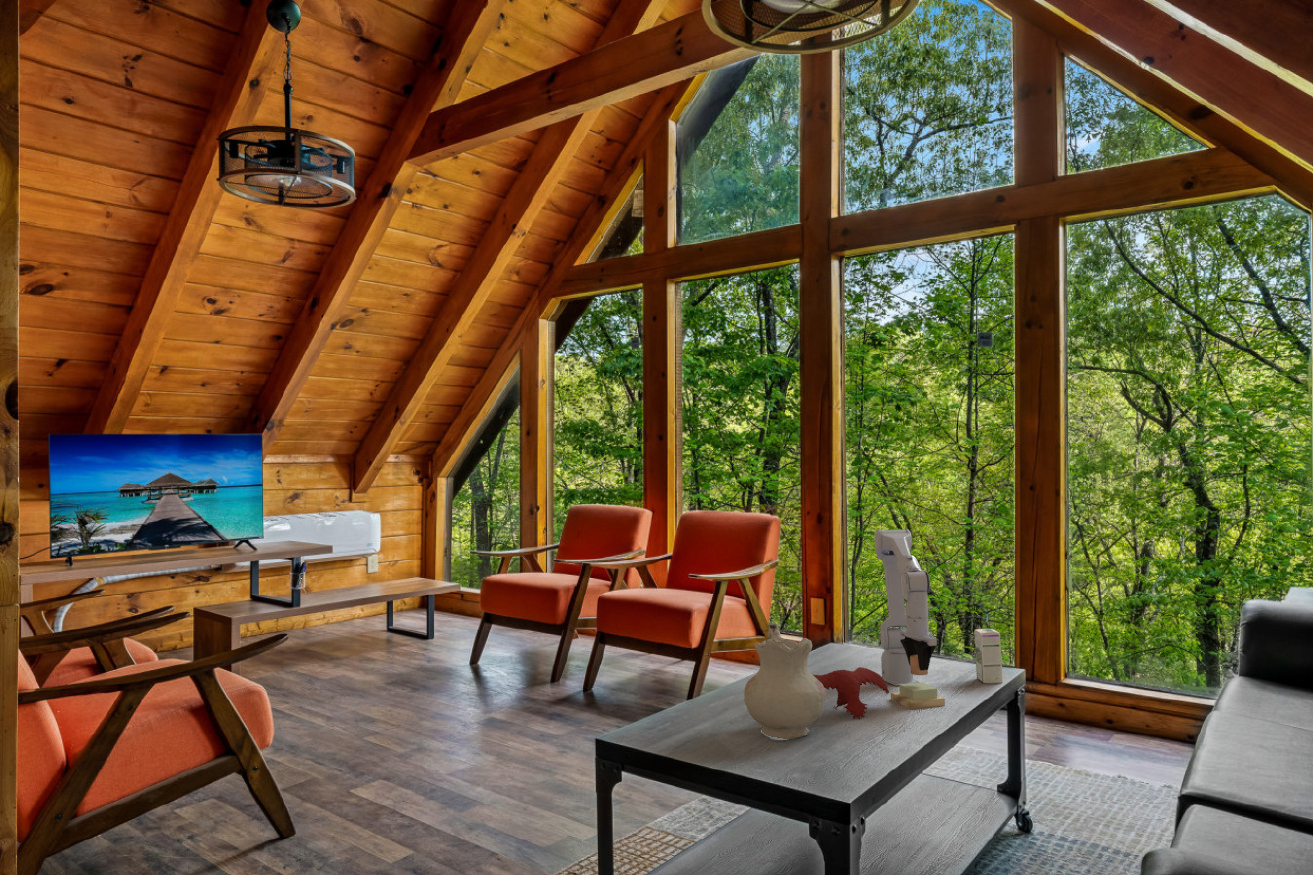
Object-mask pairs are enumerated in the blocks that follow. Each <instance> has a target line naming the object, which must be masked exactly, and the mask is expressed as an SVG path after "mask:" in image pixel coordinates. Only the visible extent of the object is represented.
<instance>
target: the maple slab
mask: <svg viewBox="0 0 1313 875" xmlns="http://www.w3.org/2000/svg"><path fill="white" fill-rule="evenodd" d="M890 700H891V701H893V702H895V703H897V704H899V705H901V706H903V707H905V708H907V709H909V710H916V709H926V708H928V709H929V708H935V707H943V706H946V701H945V700H946V698H945V697H942V696H940V695H938V694H937V698H934V699H924V700H914V701H913V700H911V699H909V698H907V697H905V696H903V695H901V694H900V691H893V692H892V691H891V692H890Z"/></svg>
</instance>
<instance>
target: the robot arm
mask: <svg viewBox="0 0 1313 875" xmlns="http://www.w3.org/2000/svg"><path fill="white" fill-rule="evenodd" d="M912 546H913V536H912V533H911V531H910V530H909V529H908V528H905V529H882V530H880V529H877V530H876V531H875V532H874V547H875V556H876V559H878V560H880V561H881V562H882V564H883V565H882V566H883V568H884V570H883V571H884V580H885V589H886V597H887V598H886V599H887V607H888V608H887V609H888V617H887V618H885V619H884V620H883V621H882V622H881V623H880V627H879V628H880V634H879V636H880V640H879V641H880V644H881V648H882V649H883V652H882V654H881V656H880V658H881V659H880V660H881V663H880V664H881V677H882V678H883V679H884V681H885V682H886V683H888V684H890V685H893V686H894V687H895V686H896V687H898V686H899V684H909V683H920V681H919V680H917V679H915V678H914V675H913V674H911V668H910V655H917V656H918V662H919V668H920V670H928V671H929V668H930V662H931V659H932V655H933V654H934V651H935V649H936V648H937V645H938V644H937V642H938V640H937V637H935V636H933V632H931V631H929V629H930V628H929V607H928V606H929V605H928V604H929V602H928V593H930V591H931V590H930V589H931V579H930V575H929V573H928V571H927V570H925V569H922V567H921V565H920V563H919V562H918V559H917V558H916V557H915V556H914V555H911V554H912V553H911V549H912Z"/></svg>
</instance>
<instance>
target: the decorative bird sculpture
mask: <svg viewBox="0 0 1313 875" xmlns="http://www.w3.org/2000/svg"><path fill="white" fill-rule="evenodd" d="M811 674H812V673H811ZM812 675H813V676H814V677H815V678H817V679H818V680H819V681H820V682H821V683H822V684H823V687H824V689H825V690H828V691H829V690H830V689H831V690H835V689H836V691H837V700H836V705H833V706H832V708H833V709H835V711H836V710H837V708H838V707H843V709H845V710H846V713H850V716H853V717H852V719H856V718H858V720H861V718H864V717H865V715H864V714H866V713H867V711H866V710H868V707H867V706H868V704H867V703H863V702H862V701H861V699H860V693H861V686H863V685H864V686H867V683H868V684H869V685H870V686H871V685H872V684H873V685H874V686H876V687H879V689H882V691H884V692H885V693H886V695H888V694H889V693H890V691H889V687H888V685H887V682H886V681H884V679H883V678H882V675H880V674H879V673H877V672H875V671H874V670H871V669H870V668H867V667H860V666H859V667H857V668H856V669H855V670H848V669H836V670H833V671H831V672H828V673H825V674H814V673H813V674H812Z"/></svg>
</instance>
